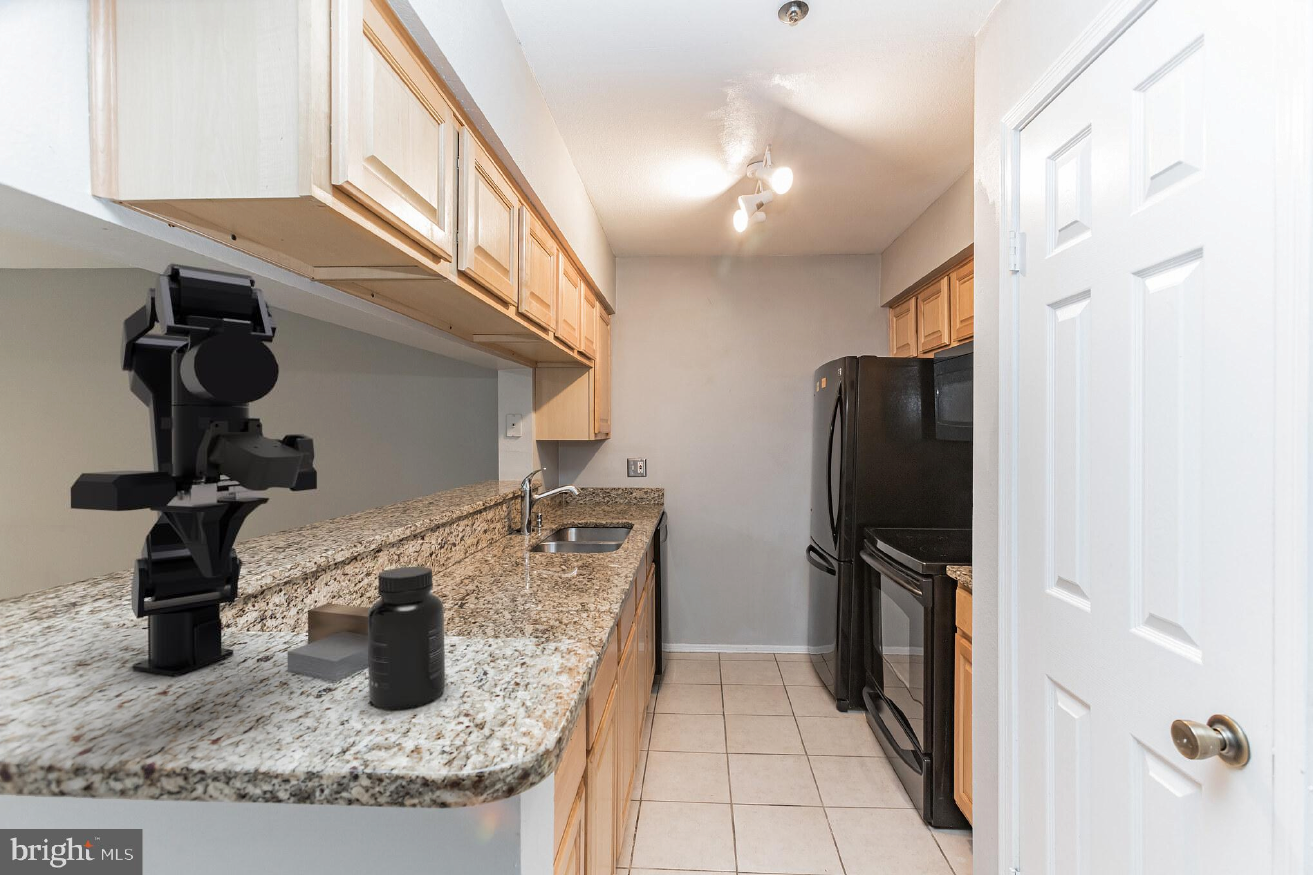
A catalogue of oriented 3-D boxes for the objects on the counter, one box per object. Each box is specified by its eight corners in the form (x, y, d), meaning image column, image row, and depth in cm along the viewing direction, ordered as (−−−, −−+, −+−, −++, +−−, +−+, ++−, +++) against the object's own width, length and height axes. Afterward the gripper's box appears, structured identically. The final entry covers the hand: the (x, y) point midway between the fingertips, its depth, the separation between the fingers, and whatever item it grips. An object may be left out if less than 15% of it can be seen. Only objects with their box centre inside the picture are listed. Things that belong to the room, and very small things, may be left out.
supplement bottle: (421, 674, 63) (421, 560, 63) (458, 693, 59) (458, 570, 59) (354, 697, 58) (354, 572, 58) (389, 719, 54) (389, 584, 53)
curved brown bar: (307, 643, 72) (307, 610, 72) (327, 635, 75) (327, 603, 75) (407, 655, 68) (407, 620, 68) (424, 646, 71) (424, 612, 71)
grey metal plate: (287, 674, 64) (287, 651, 64) (344, 652, 71) (343, 630, 70) (335, 685, 61) (335, 661, 61) (389, 661, 68) (389, 639, 68)
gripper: (170, 401, 44) (172, 613, 44) (360, 409, 62) (360, 560, 62) (64, 402, 47) (66, 601, 47) (274, 410, 65) (275, 554, 65)
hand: (212, 576), depth 56 cm, fingers closed
